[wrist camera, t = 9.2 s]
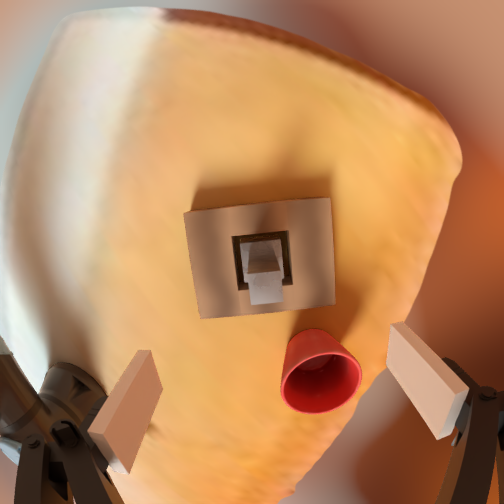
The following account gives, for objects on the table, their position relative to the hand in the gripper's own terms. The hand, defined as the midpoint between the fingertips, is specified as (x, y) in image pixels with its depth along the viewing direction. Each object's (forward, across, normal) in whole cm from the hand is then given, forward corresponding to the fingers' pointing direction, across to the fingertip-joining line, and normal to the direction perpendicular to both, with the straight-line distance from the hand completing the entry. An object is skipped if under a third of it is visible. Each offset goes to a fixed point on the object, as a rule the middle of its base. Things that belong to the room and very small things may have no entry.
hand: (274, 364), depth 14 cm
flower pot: (+26, +6, -16) cm, 31 cm away
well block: (+26, 0, 0) cm, 26 cm away
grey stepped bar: (+26, 0, 0) cm, 26 cm away
